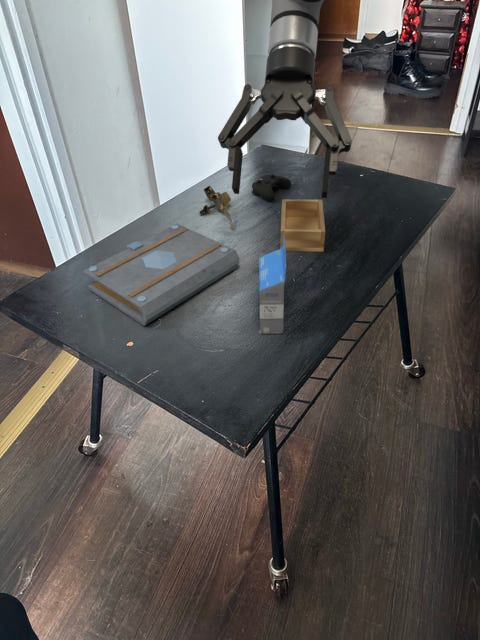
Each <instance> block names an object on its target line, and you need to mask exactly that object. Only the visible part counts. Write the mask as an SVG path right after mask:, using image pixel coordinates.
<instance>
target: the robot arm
mask: <svg viewBox="0 0 480 640" xmlns="http://www.w3.org/2000/svg"><path fill="white" fill-rule="evenodd" d="M271 1H272V2H271V12H270V23H269V24H270V25H269V32H268V41H267V42H268V43H267V58H266V66H265V76H264V84H263V86H262V88H253V87H252V85H251V84H249V83H248V84H247V83H246V84H245V85H244V86H243V89H242V94H241V98H240V99H239V102H238V103H237V104H236V106H235V108H234V110H233V111H232V112H231V115H230V116H229V118H228V119H227V121H226V122H225V124H224V126H223V127H222V129H221V131H220V133H219V134H218V136H217V141H218V143H219V145H220V147H221V148H222V149H227V150H228V152H227V168H228V170H229V172H232V181H231V189H232V192H233V194H234V195H240V189H241V180H242V179H241V178H242V167H243V157H244V153H243V150H242V148H243V147H244V146H245V145H246V144H247V143H248V142H249V141H250V140H251V139H252V138H253V136H255V135H256V133H258V132H259V130H261V128H262V127H263V126H264V125H266V124H268V123H269V122H270V121H271V120H272V119H273V118H274V119H276V121H284V120H289V121H297V119H298V120H299V119H300V118H301V119H302V121H303V122H304V123H305V125H307V126H308V127H309V128H310V129H311V131H312V132H313V133H314V135H315V136H316V137H317V138H318V140H319V141H320V143H322V145H323V146H324V147H325V153H324V154H325V155H324V156H325V157H324V164H323V165H324V168H323V178H322V191H321V198H322V199H327V198H328V190H329V189H328V188H329V178H330V177H329V176H336V174H337V172H338V163H339V155H340V154H342V153H344V152H345V153H348V152H350V150H351V147H352V143H353V141H352V138H351V136H350V133H349V130H348V127H347V125H346V124H345V121H344V119H343V117H342V115H341V112H340V110H339V107H338V105H337V103H336V101H335V95H334V94H335V92H334V91H335V90H334V89H335V88H334V86H333V85H331V84H328V85H326V86H325V88H323V89H322V88H321V89H316V88H315V86H314V83H315V71H316V57H317V48H318V47H317V46H318V36H319V24H320V14H321V13H320V12H321V9H322V6H323V3H324V1H325V0H271ZM259 99H260V100H261V101H262V104H261V105H260V106H259V108H258V110H257V111H256V112H255V113H254V114H253V116H252V117H250V119H249V120H248V121H246V123H245V124H244V125H243V126H241V125H242V123H243V122H244V120H245V119H246V117H247V115H248V113H249V112H250V110H251V108H252V105H253V106H254V105H255V104H256V103H257V101H258V100H259ZM316 100H317V101H318V102H319V104H320V106H323V107H324V108H325V113H326V114H327V117H328V119H329V122H330V125H331V126H332V129H333V131H334V134H335V136H336V138H337V139H336V138H335V137H334V135H333V133H332V132H331V131H330V130H329V129H328V127H327V126H326V125H325V123H323V121H322V120H321V118H320V117H319V115H317V113H316V112H315V110H314V108H313V106H312V105H313V104H314V103H315V102H316ZM240 127H241V128H240ZM239 128H240V129H239Z"/></svg>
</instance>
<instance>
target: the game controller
mask: <svg viewBox="0 0 480 640" xmlns="http://www.w3.org/2000/svg"><path fill="white" fill-rule="evenodd" d="M274 187H279V188H282V189H285V190H286V189H290V188H291V187H292V182H291V180H290V179H289V178H287V177H285V176H281V175H275V174H265V175H263V176H261V177H260V178H259V179H257V180H255V181H253V182H252V184H251V189H252V192H251V194H252V195H254V196H257V195H258V196H260V197H261V198H262V199H264V200H265V201H267V202H274V201H275V194H274V191H273V188H274Z"/></svg>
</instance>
